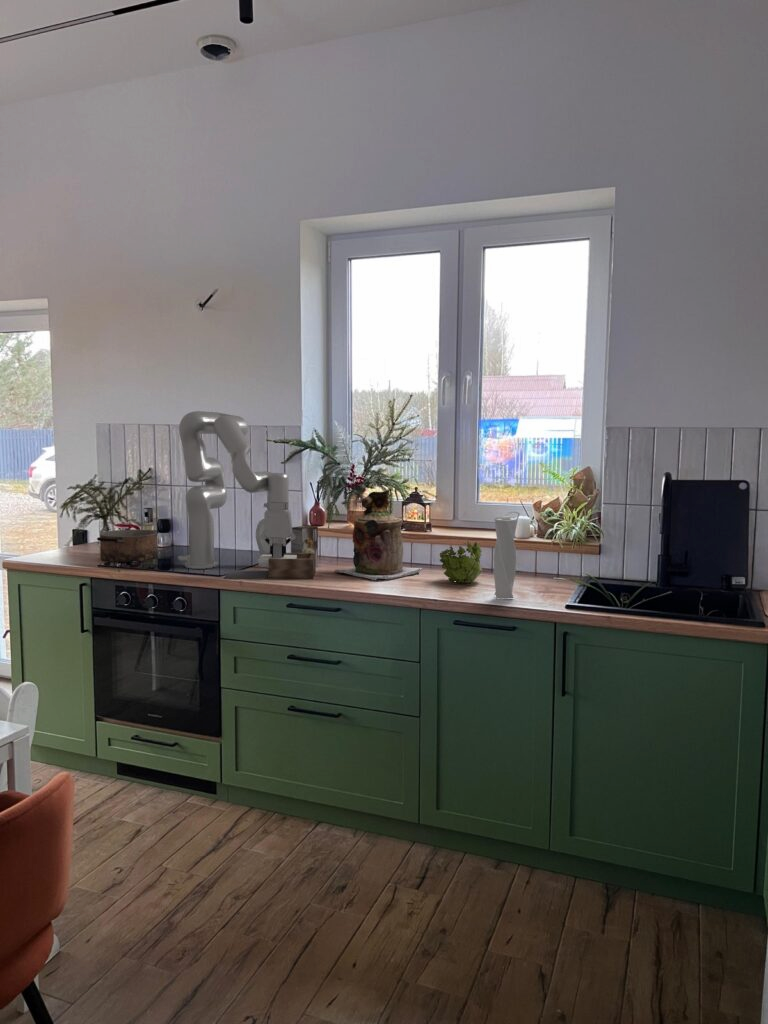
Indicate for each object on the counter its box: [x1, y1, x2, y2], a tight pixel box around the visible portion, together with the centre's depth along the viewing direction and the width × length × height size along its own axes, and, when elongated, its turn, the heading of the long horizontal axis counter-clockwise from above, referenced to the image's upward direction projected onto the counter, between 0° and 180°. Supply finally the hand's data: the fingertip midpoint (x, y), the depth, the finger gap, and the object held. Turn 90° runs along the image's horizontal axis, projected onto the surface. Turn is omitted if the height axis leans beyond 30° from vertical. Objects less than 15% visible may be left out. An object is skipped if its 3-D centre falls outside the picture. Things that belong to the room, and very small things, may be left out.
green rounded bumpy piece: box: [439, 540, 483, 583], centre depth 271 cm, size 18×16×16 cm
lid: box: [257, 543, 297, 564], centre depth 280 cm, size 13×11×6 cm
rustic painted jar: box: [334, 489, 423, 581], centre depth 285 cm, size 25×25×32 cm
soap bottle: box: [255, 505, 283, 568], centre depth 296 cm, size 13×8×24 cm, turn 69°
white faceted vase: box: [493, 511, 520, 599], centre depth 246 cm, size 8×8×28 cm
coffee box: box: [290, 525, 319, 568], centre depth 297 cm, size 9×6×16 cm
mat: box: [223, 569, 269, 580], centre depth 280 cm, size 15×15×1 cm
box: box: [268, 552, 317, 580], centre depth 280 cm, size 16×15×7 cm
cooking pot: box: [96, 529, 160, 563], centre depth 313 cm, size 30×22×11 cm
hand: (278, 555), depth 280 cm, fingers closed on lid, 3 cm apart
